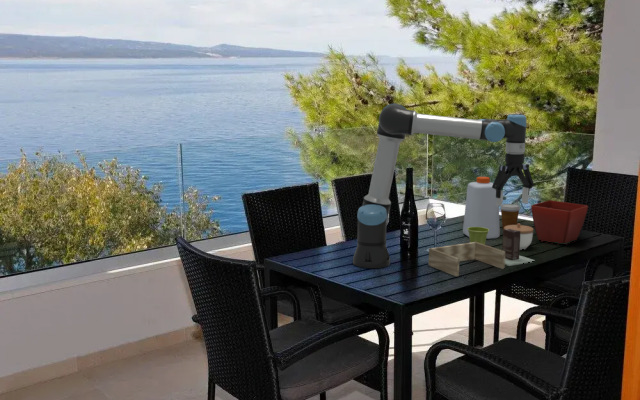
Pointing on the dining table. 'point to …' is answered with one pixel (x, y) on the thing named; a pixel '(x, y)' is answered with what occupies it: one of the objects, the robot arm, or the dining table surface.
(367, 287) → the dining table surface
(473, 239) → the plant pot
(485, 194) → the plastic bottle
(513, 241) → the box
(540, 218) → the plant pot
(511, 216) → the disposable coffee cup
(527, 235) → the lidded bowl
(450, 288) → the dining table surface
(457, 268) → the wooden u-shaped frame
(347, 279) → the dining table surface
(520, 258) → the plate
